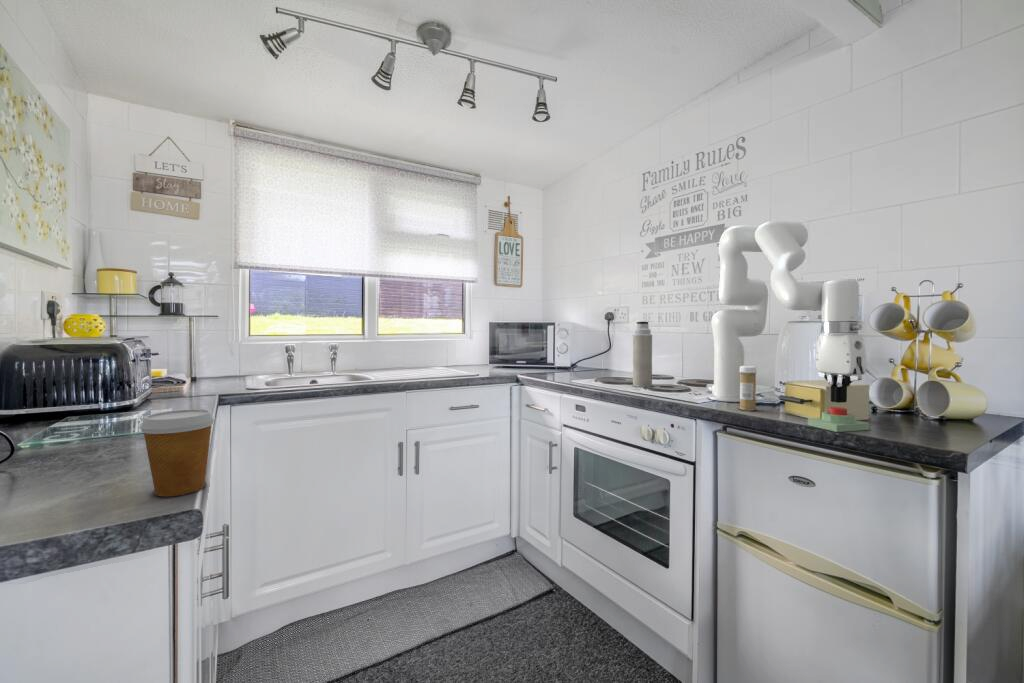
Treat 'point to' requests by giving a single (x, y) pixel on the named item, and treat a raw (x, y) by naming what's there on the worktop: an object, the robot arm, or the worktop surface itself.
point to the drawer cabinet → (854, 404)
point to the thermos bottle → (642, 356)
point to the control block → (838, 422)
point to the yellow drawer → (804, 400)
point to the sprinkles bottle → (748, 388)
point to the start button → (837, 411)
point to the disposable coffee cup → (178, 449)
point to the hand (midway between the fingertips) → (838, 401)
